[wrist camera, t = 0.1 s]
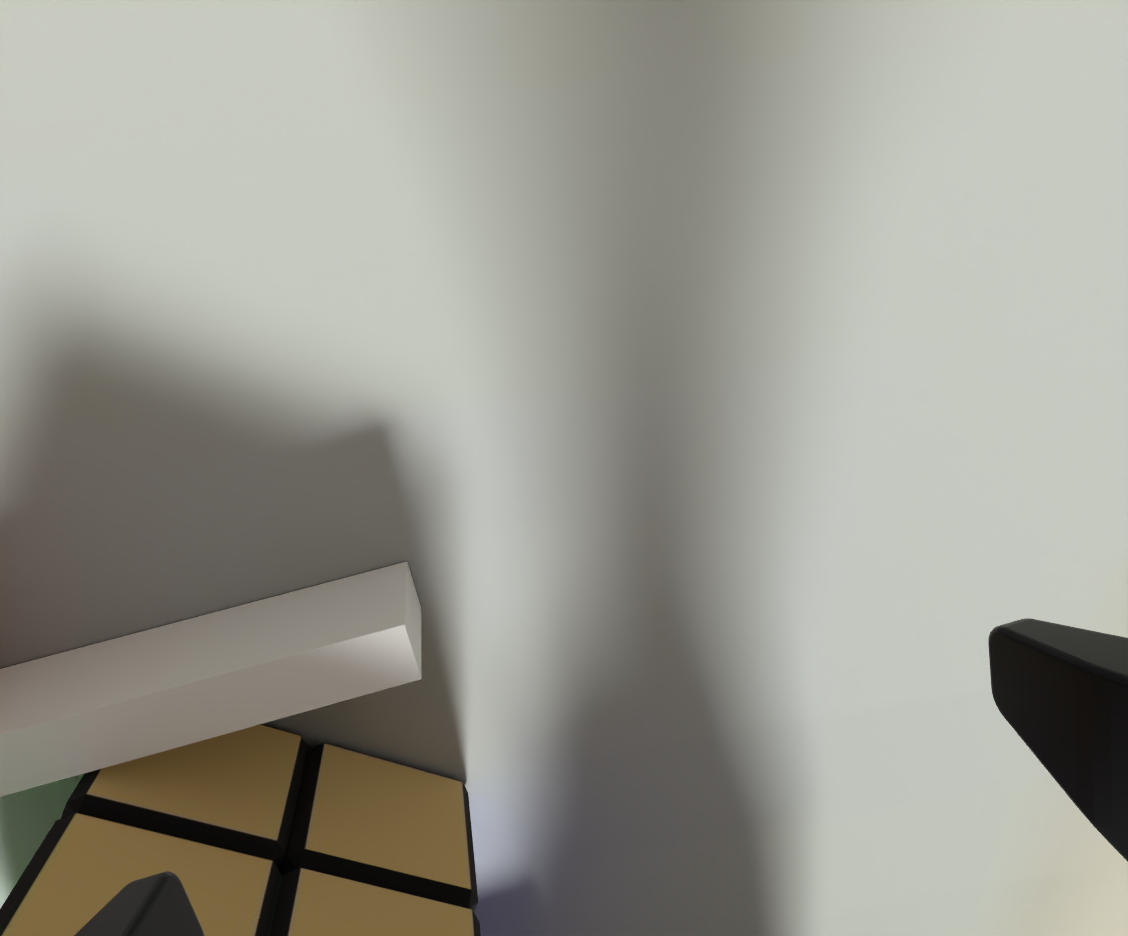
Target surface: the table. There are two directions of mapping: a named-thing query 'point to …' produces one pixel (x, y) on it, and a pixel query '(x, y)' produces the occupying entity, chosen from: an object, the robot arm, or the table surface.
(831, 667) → the table surface
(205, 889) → the puzzle cube
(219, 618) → the trap channel
